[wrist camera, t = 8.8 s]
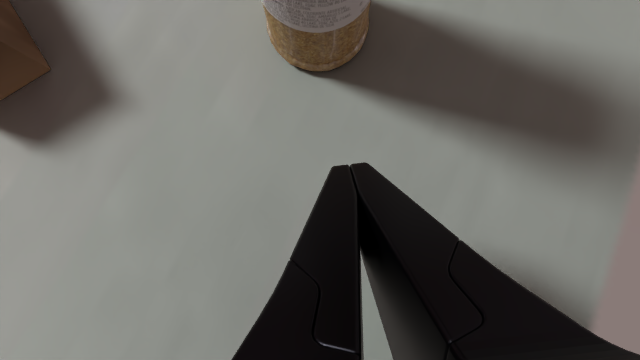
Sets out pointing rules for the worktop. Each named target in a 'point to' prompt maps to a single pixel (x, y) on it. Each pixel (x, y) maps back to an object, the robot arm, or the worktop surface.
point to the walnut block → (17, 53)
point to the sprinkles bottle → (317, 30)
